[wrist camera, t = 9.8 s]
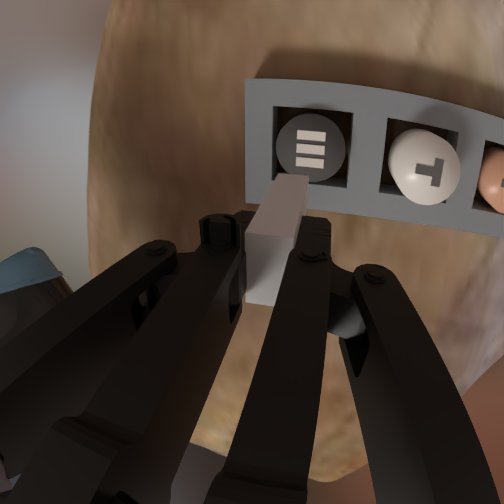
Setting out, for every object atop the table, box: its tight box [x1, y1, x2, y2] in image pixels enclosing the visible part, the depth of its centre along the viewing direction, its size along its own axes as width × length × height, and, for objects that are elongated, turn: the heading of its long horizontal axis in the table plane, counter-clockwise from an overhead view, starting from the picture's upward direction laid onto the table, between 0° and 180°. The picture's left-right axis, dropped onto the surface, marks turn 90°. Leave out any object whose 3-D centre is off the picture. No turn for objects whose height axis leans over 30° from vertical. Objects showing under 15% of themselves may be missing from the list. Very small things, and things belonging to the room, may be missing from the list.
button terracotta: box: [476, 146, 504, 214], centre depth 23 cm, size 6×6×4 cm
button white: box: [388, 129, 460, 205], centre depth 24 cm, size 6×6×4 cm
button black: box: [276, 112, 346, 182], centre depth 27 cm, size 6×6×4 cm
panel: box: [245, 79, 504, 238], centre depth 26 cm, size 32×12×3 cm, turn 90°
